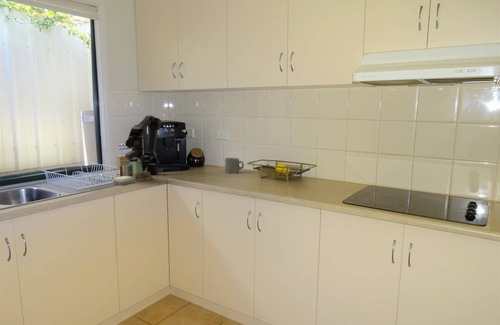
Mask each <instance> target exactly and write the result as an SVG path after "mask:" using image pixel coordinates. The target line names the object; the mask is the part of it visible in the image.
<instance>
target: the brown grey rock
mask: <svg viewBox="0 0 500 325" xmlns="http://www.w3.org/2000/svg"><path fill="white" fill-rule="evenodd" d="M122 176H129V177H133V166H132V164H130V165H126V166H120V175H119V177H122ZM133 179H134V180H135V182H139V183H140V182H144V181H149V180H154V177H153V176H152V175H151V172H147V171H146V172H145V173H139V174H135V178H134V177H133Z"/></svg>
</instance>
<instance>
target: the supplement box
mask: <svg viewBox="0 0 500 325" xmlns="http://www.w3.org/2000/svg"><path fill="white" fill-rule="evenodd" d="M115 160H116V161H115V162H116V172H117V171H119V170H120V166H126V165H131V161H129V160H128V159H127V158H126V156H125V154H124V155H123V154H122V155H116V156H115Z"/></svg>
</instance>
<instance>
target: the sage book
mask: <svg viewBox="0 0 500 325" xmlns="http://www.w3.org/2000/svg"><path fill="white" fill-rule="evenodd" d="M131 165H132V166H133V177H134V178H135V174H139V173H145V172H147V168H146V169H145V171H144V172H143V170H142V164H141V163H140V160H138V161H135V162H132V163H131Z"/></svg>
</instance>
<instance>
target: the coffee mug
mask: <svg viewBox="0 0 500 325" xmlns="http://www.w3.org/2000/svg"><path fill="white" fill-rule="evenodd" d="M240 164H241V166H240ZM244 167H245V163H244V161H242V160H240V159H239V157H225V158H224V173H225V174H233V175H234V174H238V173H240V171H241V170H242V169H244Z"/></svg>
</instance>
